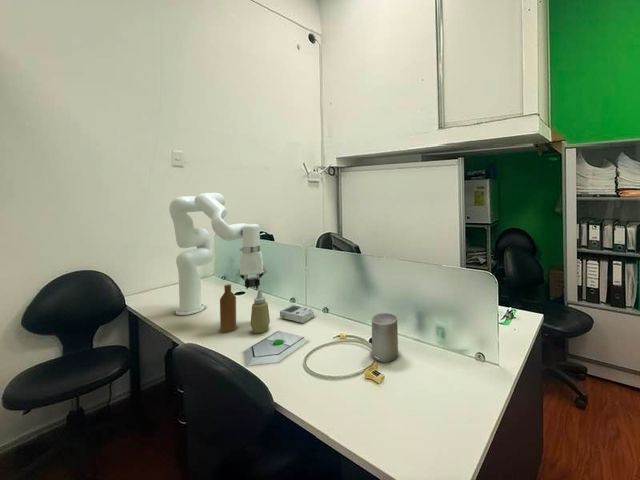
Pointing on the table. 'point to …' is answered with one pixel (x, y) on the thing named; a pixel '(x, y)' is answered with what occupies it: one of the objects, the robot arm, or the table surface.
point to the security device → (273, 348)
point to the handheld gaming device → (297, 313)
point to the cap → (252, 282)
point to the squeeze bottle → (260, 314)
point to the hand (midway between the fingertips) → (252, 287)
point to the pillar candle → (384, 337)
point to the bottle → (227, 310)
